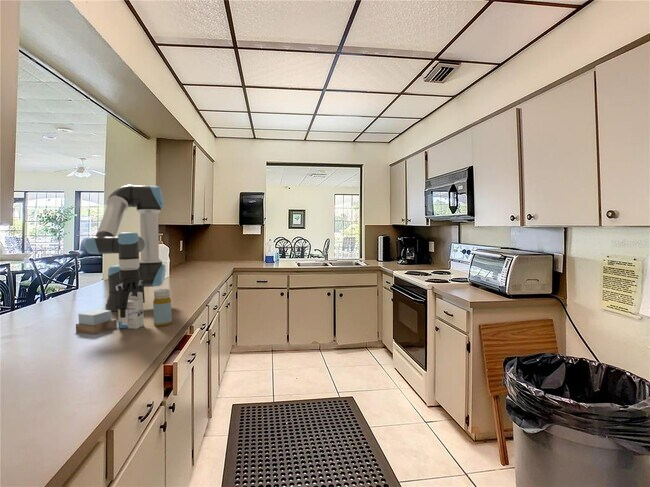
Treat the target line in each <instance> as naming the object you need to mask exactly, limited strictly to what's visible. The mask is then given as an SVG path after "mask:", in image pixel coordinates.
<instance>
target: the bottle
mask: <svg viewBox="0 0 650 487" xmlns="http://www.w3.org/2000/svg"><path fill="white" fill-rule="evenodd" d="M170 294H171V290H170V289H169V288H160V289H155V290H154V291H153V298H154V299H153V305H152V306H153V308H152V309H153V324H154V325H155V326H156V327H163V326H164V327H165V326H169V325H170V324H172V299H171V295H170Z"/></svg>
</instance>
